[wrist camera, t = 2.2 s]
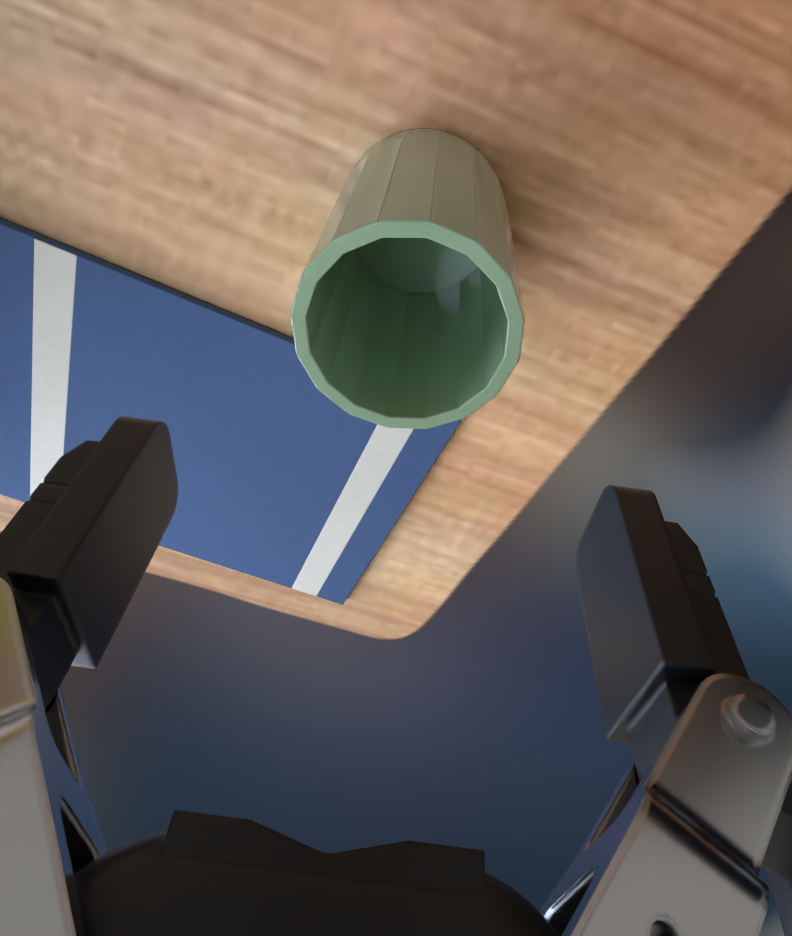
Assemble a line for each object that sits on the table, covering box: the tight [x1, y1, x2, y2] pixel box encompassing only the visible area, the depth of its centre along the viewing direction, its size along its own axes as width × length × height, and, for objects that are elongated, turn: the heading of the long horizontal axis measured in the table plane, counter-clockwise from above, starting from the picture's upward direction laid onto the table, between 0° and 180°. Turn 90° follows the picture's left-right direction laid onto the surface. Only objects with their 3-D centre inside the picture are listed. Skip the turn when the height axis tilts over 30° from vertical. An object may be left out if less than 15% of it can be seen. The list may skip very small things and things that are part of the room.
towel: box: [0, 218, 462, 604], centre depth 30 cm, size 20×16×1 cm
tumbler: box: [290, 129, 525, 429], centre depth 18 cm, size 6×6×8 cm
